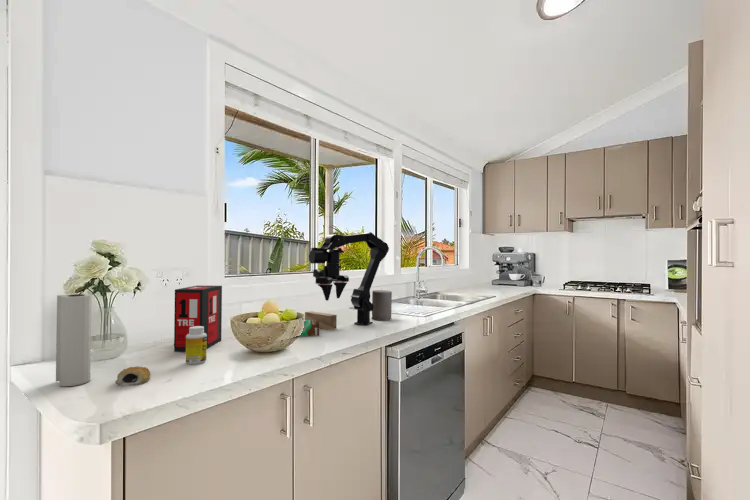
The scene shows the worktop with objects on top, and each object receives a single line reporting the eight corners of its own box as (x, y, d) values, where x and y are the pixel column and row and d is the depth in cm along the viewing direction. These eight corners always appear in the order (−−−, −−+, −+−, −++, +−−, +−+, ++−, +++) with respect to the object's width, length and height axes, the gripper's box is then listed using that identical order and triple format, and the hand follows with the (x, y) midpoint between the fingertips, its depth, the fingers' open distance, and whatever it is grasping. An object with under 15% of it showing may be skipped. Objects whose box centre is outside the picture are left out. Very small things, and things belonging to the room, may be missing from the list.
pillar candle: (367, 318, 195) (368, 288, 195) (380, 316, 203) (380, 287, 203) (383, 321, 189) (383, 289, 189) (395, 318, 197) (396, 288, 197)
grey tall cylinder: (93, 382, 97) (94, 294, 97) (62, 389, 93) (63, 296, 93) (85, 376, 102) (86, 292, 102) (55, 382, 97) (57, 294, 98)
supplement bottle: (204, 364, 114) (205, 328, 114) (183, 365, 112) (184, 329, 113) (207, 359, 119) (208, 325, 119) (187, 360, 118) (188, 325, 118)
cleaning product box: (196, 340, 144) (197, 285, 145) (221, 340, 144) (221, 285, 145) (174, 352, 128) (174, 289, 128) (201, 352, 128) (202, 289, 128)
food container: (319, 320, 154) (293, 320, 152) (319, 336, 154) (292, 337, 152) (318, 315, 166) (293, 315, 164) (318, 330, 166) (293, 330, 164)
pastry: (126, 376, 103) (126, 361, 103) (155, 374, 105) (155, 360, 105) (113, 388, 94) (114, 371, 94) (145, 386, 96) (146, 370, 96)
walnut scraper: (311, 324, 180) (311, 311, 180) (336, 328, 170) (336, 314, 170) (304, 325, 177) (304, 312, 177) (329, 330, 167) (329, 315, 167)
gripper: (328, 262, 185) (328, 296, 185) (305, 263, 168) (304, 300, 168) (349, 263, 180) (349, 297, 180) (327, 264, 163) (327, 302, 163)
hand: (332, 299), depth 173 cm, fingers open, 9 cm apart
